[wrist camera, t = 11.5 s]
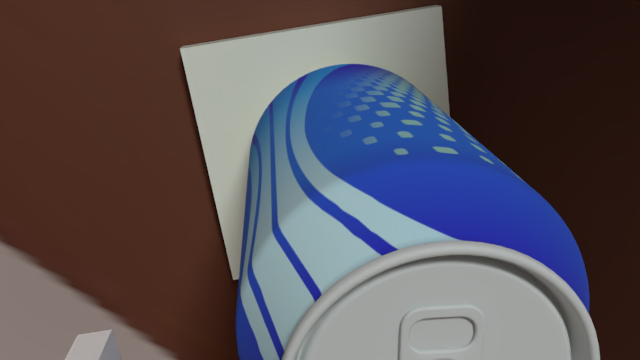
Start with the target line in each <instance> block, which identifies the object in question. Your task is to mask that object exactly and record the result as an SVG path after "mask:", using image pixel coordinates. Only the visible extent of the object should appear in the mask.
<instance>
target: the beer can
mask: <svg viewBox="0 0 640 360" xmlns="http://www.w3.org/2000/svg"><path fill="white" fill-rule="evenodd" d="M589 300H590V295H589V286H588V278H587V274H586V270H585V266H584V262H583V258H582V256H581V253H580V250H579V247H578V245H577V243H576V241H575V239H574V237H573V235H572V233H571V231H570V230H569V228H568V227H567V225H566V224H565V222H564V221H563V219H562V218H561V217H560V216H559V214H558V213H557V212H556V211H555V210H554V208H553V207H552V206H551V205H550V204H549V203H548V202H547V201H546V200H545V199H544V198H543V197H542V196H541V195H540V194H539V193H537V192H536V191H535V190H534V189H533V188H532V187H531V186H529V185H528V184H527V183H526V182H525V181H524V180H522V179H521V178H520V177H519V176H518V175H517V174H515V173H514V172H513V171H512V170H511V169H510V168H509V167H507V166H506V165H505V164H504V163H503V162H502V161H500V160H499V159H498V158H497V157H496V156H495V155H493V154H492V153H491V152H490V151H489V150H488V149H487V148H485V147H484V146H483V145H482V144H481V143H480V142H478V141H477V140H476V139H475V138H474V137H473V136H471V135H470V134H469V133H468V132H467V131H466V130H464V129H463V128H462V127H461V126H460V125H459V124H458V123H456V122H455V121H454V120H453V119H452V118H451V117H449V116H448V115H447V114H446V113H445V112H444V111H442V110H441V109H440V108H439V107H438V106H437V105H436V104H434V103H433V102H432V101H431V100H430V99H429V98H427V97H426V96H425V95H424V94H423V93H422V92H420V91H419V90H418V89H417V88H416V87H415V86H414V85H412V84H411V83H409V82H408V81H407V80H405V79H404V78H402V77H400V76H399V75H397V74H395V73H392V72H390V71H388V70H385V69H382V68H379V67H375V66H371V65H364V64H339V65H333V66H328V67H324V68H321V69H318V70H315V71H312V72H310V73H308V74H306V75H304V76H302V77H300V78H298V79H297V80H295V81H294V82H292V83H291V84H289V85H288V86H287V87H285V88H284V89H283V90H282V91H281V92H280V93H279V94H278V95H277V96H276V97H275V98H274V99H273V100H272V101H271V103H270V104H269V105H268V107H267V108H266V110H265V111H264V113H263V114H262V116H261V118H260V120H259V122H258V124H257V126H256V129H255V132H254V135H253V138H252V142H251V147H250V156H249V167H248V179H247V191H246V202H245V214H244V226H243V237H242V249H241V261H240V272H239V284H238V296H237V307H236V340H237V348H238V355H239V359H240V360H600V352H599V344H598V339H597V335H596V331H595V328H594V325H593V323H592V320H591V317H590V316H589Z"/></svg>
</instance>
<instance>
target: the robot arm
mask: <svg viewBox="0 0 640 360" xmlns="http://www.w3.org/2000/svg"><path fill="white" fill-rule="evenodd" d="M65 360H122V359H121V356H120V353H119V350H118V347H117V344H116V341H115V338H114V334H113V331H112V329H111V330H105V331H100V332H93V333H87V334H81V335H77V338H76V339H75V341H74V343H73V345H72V347H71V349H70V351H69V353H68V355H67V356H66V358H65Z"/></svg>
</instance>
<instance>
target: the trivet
mask: <svg viewBox="0 0 640 360" xmlns="http://www.w3.org/2000/svg"><path fill="white" fill-rule="evenodd" d="M180 51H181V55H182V60H183V64H184V68H185V73H186V77H187V81H188V86H189V90H190V95H191V99H192V103H193V108H194V112H195V116H196V121H197V125H198V129H199V134H200V138H201V142H202V147H203V151H204V155H205V160H206V164H207V168H208V173H209V177H210V182H211V186H212V190H213V195H214V199H215V203H216V208H217V212H218V216H219V221H220V225H221V229H222V234H223V238H224V242H225V247H226V251H227V255H228V260H229V264H230V269H231V273H232V277H233V280H236V279H239V272H240V261H241V249H242V237H243V226H244V214H245V202H246V191H247V179H248V167H249V156H250V147H251V142H252V138H253V135H254V132H255V129H256V126H257V124H258V122H259V120H260V118H261V116H262V114H263V113H264V111H265V110H266V108H267V107H268V105H269V104H270V103H271V101H272V100H273V99H274V98H275V97H276V96H277V95H278V94H279V93H280V92H281V91H282V90H283V89H284V88H285V87H287V86H288V85H289V84H291V83H292V82H294V81H295V80H297V79H298V78H300V77H302V76H304V75H306V74H308V73H310V72H312V71H315V70H318V69H321V68H324V67H328V66H333V65H339V64H364V65H371V66H375V67H379V68H382V69H385V70H388V71H390V72H392V73H395V74H397V75H399V76H400V77H402V78H404V79H405V80H407V81H408V82H409V83H411V84H412V85H414V86H415V87H416V88H417V89H418V90H419V91H420V92H422V93H423V94H424V95H425V96H426V97H427V98H429V99H430V100H431V101H432V102H433V103H434V104H436V105H437V106H438V107H439V108H440V109H441V110H442V111H444V112H445V113H446V114H447V115H448V116H449V117H450V110H449V97H448V84H447V71H446V57H445V44H444V31H443V18H442V6H440V5H431V6H425V7H419V8H413V9H407V10H401V11H395V12H388V13H382V14H376V15H370V16H364V17H358V18H352V19H346V20H340V21H334V22H327V23H321V24H315V25H309V26H303V27H297V28H291V29H285V30H279V31H273V32H266V33H260V34H254V35H248V36H242V37H236V38H230V39H224V40H218V41H212V42H205V43H199V44H193V45H187V46H182V47H181V48H180Z"/></svg>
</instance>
